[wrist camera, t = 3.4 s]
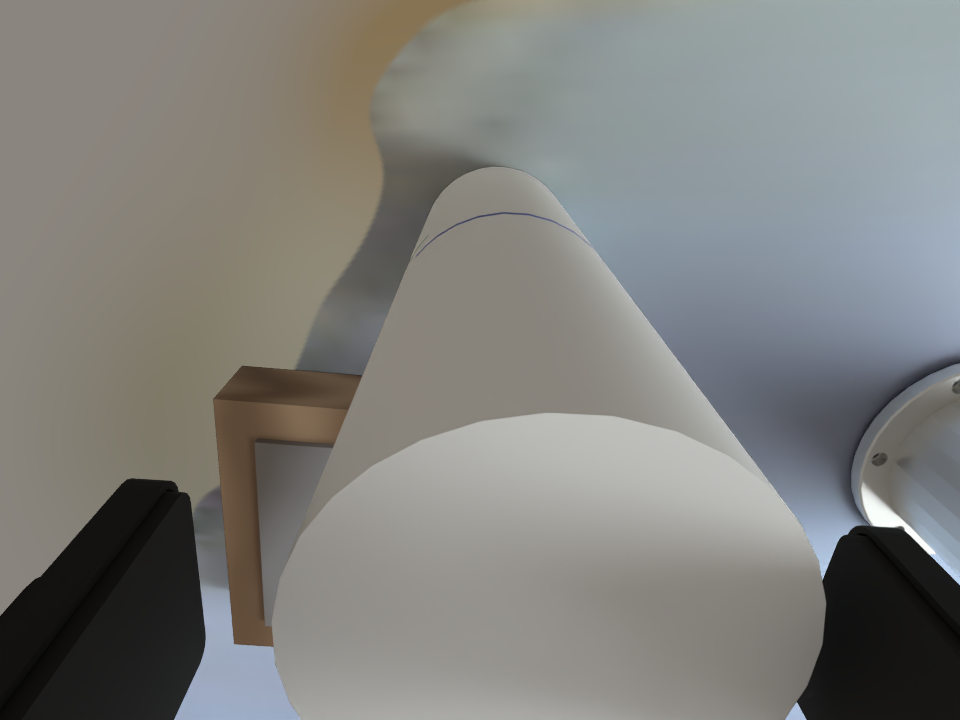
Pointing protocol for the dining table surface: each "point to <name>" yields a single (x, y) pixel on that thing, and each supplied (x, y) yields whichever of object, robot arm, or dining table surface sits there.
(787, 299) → the dining table surface
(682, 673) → the cylindrical container
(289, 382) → the walnut base
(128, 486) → the robot arm
